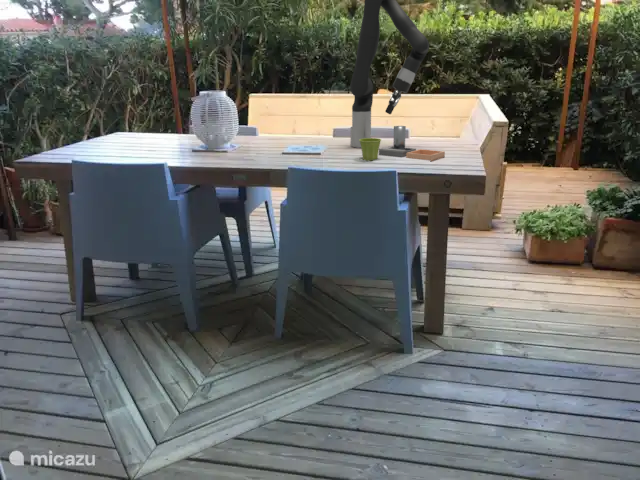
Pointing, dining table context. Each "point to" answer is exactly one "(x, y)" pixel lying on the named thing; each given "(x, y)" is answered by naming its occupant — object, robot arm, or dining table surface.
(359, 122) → the robot arm
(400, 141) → the grey upright cylinder
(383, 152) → the bin
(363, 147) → the plant pot
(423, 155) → the bin
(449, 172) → the dining table surface
